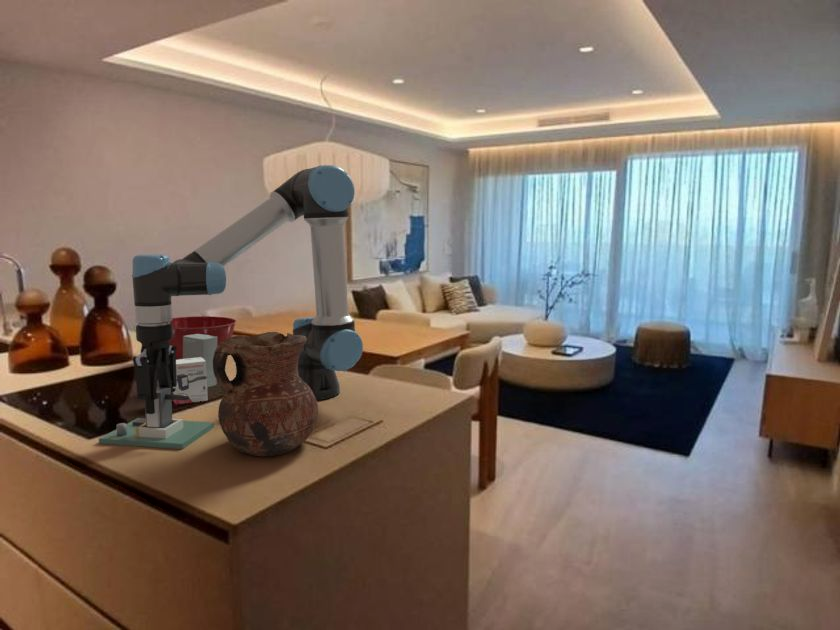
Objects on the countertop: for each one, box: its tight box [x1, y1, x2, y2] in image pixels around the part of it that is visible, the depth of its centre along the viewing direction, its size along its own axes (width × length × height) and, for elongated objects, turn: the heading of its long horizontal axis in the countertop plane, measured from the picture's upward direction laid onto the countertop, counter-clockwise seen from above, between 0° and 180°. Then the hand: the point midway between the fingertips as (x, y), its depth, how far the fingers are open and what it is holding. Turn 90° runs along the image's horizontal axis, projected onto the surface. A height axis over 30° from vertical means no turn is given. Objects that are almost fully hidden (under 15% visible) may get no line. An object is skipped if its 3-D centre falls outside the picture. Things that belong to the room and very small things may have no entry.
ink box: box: [172, 357, 209, 406], centre depth 154 cm, size 8×5×12 cm, turn 123°
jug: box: [213, 331, 319, 457], centre depth 121 cm, size 22×21×25 cm
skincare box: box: [183, 334, 218, 389], centre depth 169 cm, size 8×7×16 cm
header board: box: [98, 417, 215, 450], centre depth 128 cm, size 20×14×4 cm
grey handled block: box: [144, 386, 189, 428], centre depth 126 cm, size 10×4×9 cm, turn 83°
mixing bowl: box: [169, 315, 237, 360], centre depth 198 cm, size 28×28×16 cm
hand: (159, 422), depth 127 cm, fingers closed on grey handled block, 4 cm apart
